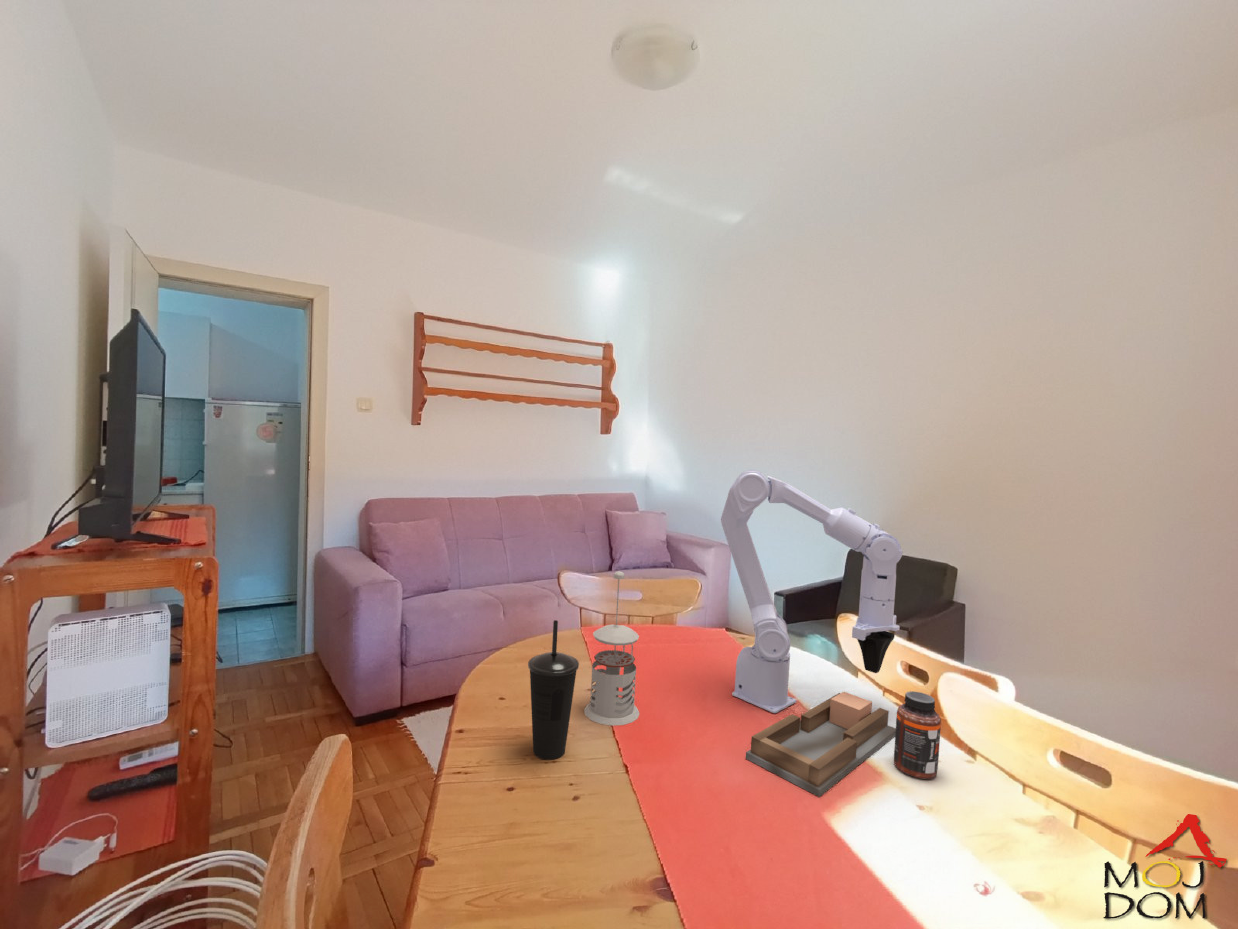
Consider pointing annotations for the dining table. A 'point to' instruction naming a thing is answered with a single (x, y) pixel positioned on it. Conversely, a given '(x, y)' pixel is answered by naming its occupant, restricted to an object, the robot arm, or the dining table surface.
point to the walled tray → (818, 747)
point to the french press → (613, 676)
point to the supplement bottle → (917, 736)
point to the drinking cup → (551, 699)
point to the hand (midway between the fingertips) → (872, 670)
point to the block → (848, 709)
